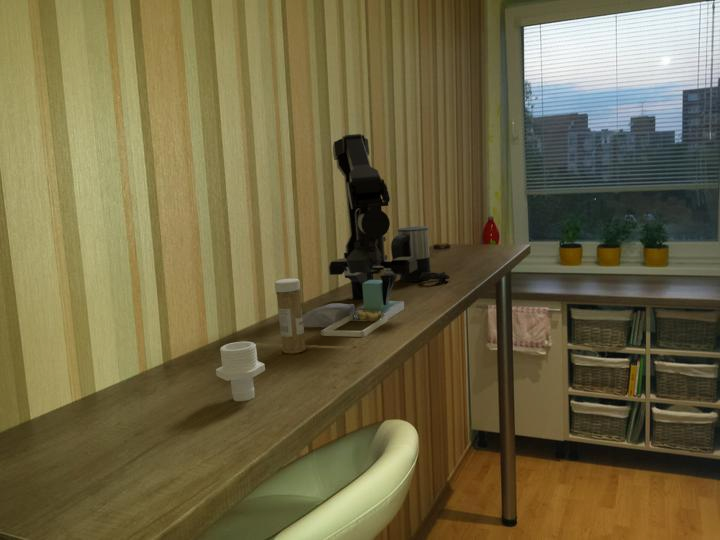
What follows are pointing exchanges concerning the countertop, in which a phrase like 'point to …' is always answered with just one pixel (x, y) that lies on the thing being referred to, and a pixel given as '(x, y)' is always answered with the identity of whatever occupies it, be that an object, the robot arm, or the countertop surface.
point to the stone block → (327, 315)
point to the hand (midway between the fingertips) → (375, 304)
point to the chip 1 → (362, 314)
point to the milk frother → (415, 253)
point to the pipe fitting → (240, 368)
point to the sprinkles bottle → (290, 315)
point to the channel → (393, 309)
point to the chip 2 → (373, 315)
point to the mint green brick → (374, 295)
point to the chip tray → (332, 332)
